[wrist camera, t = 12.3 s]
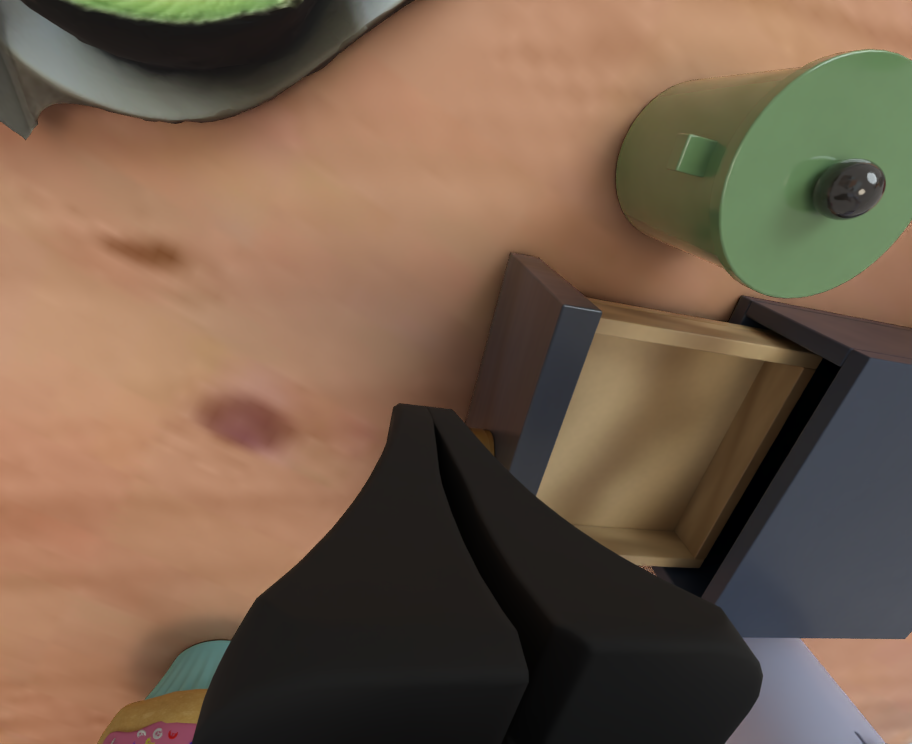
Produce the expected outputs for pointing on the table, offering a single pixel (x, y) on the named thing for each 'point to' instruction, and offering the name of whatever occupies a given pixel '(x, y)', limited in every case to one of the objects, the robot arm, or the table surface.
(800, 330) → the cabinet
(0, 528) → the table surface
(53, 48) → the avocado toast plate
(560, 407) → the drawer
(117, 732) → the cupcake
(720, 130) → the pot
